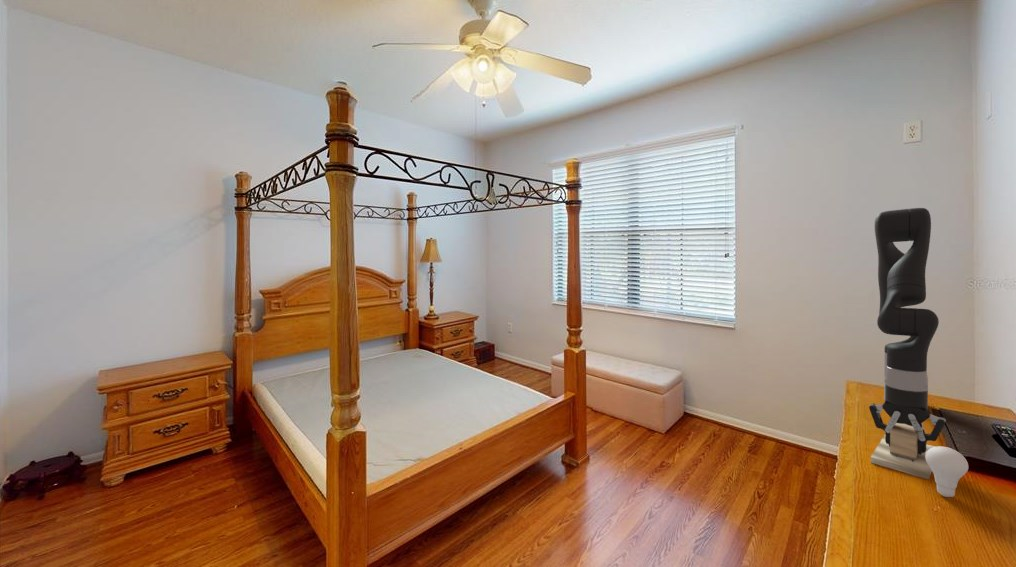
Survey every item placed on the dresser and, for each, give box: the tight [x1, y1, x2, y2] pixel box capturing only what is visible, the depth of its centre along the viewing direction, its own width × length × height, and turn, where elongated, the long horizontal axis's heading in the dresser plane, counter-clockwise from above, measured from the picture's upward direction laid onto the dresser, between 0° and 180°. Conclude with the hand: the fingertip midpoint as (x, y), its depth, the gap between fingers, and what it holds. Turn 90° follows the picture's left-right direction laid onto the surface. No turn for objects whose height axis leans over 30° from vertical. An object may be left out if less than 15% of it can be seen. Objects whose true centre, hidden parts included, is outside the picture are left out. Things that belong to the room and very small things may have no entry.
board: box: [870, 434, 936, 480], centre depth 97 cm, size 18×10×2 cm, turn 126°
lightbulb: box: [925, 445, 969, 498], centre depth 82 cm, size 6×6×11 cm
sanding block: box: [890, 423, 918, 461], centre depth 97 cm, size 8×4×6 cm, turn 126°
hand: (905, 449), depth 97 cm, fingers closed on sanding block, 4 cm apart
